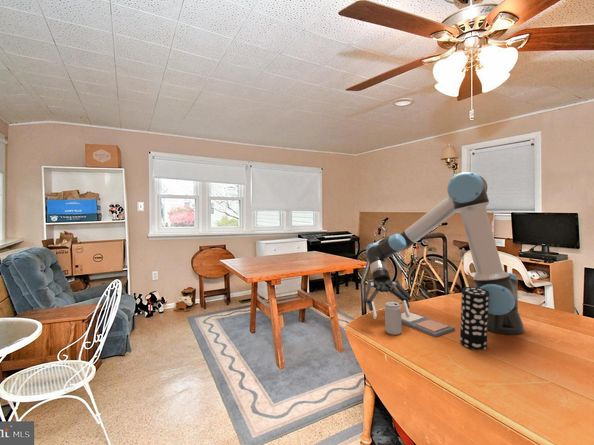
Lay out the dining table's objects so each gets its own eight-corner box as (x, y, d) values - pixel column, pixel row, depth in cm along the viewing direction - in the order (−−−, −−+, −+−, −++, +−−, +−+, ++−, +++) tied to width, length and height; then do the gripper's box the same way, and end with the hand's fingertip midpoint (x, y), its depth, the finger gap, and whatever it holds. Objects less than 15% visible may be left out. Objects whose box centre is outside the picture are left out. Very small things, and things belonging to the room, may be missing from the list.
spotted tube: (478, 352, 99) (480, 297, 96) (455, 341, 106) (456, 289, 103) (491, 345, 102) (494, 292, 100) (468, 335, 110) (470, 285, 107)
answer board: (454, 330, 117) (454, 326, 117) (435, 337, 111) (435, 333, 111) (407, 313, 138) (407, 310, 138) (389, 318, 132) (389, 315, 132)
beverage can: (402, 336, 114) (402, 306, 113) (386, 335, 115) (385, 306, 114) (400, 329, 120) (399, 301, 119) (384, 328, 121) (383, 301, 121)
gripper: (404, 276, 134) (419, 319, 120) (352, 278, 134) (360, 322, 120) (408, 267, 129) (424, 311, 114) (353, 269, 129) (362, 314, 114)
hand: (391, 317), depth 117 cm, fingers open, 13 cm apart
